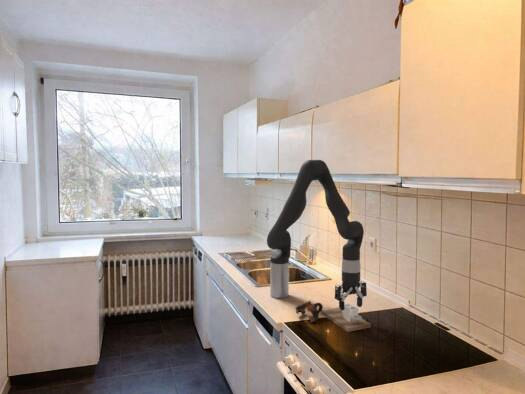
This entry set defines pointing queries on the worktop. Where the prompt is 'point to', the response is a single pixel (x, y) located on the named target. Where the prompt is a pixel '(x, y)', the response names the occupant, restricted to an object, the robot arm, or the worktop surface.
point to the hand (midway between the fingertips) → (350, 308)
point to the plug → (351, 313)
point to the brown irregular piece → (311, 308)
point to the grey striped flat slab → (344, 320)
